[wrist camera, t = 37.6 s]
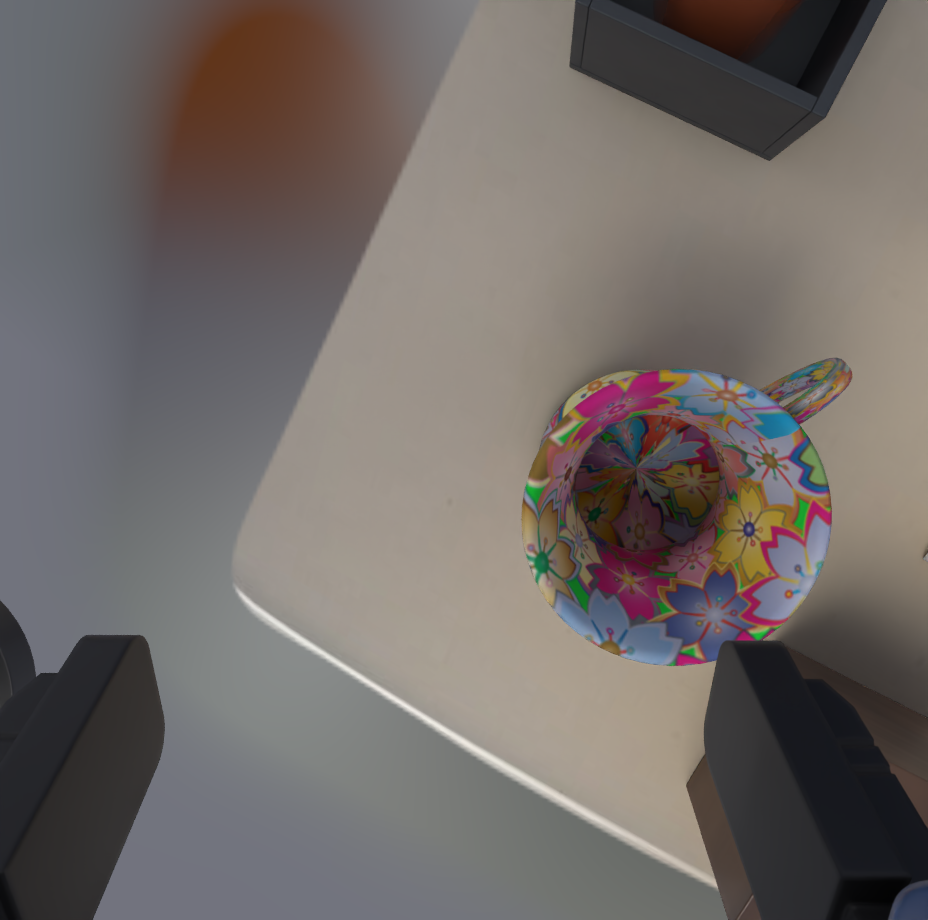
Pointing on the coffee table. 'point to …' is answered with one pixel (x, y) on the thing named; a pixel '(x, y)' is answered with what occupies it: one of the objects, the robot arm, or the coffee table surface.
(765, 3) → the cup
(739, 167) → the coffee table surface
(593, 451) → the mug
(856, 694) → the wood grain cube
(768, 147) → the tub
